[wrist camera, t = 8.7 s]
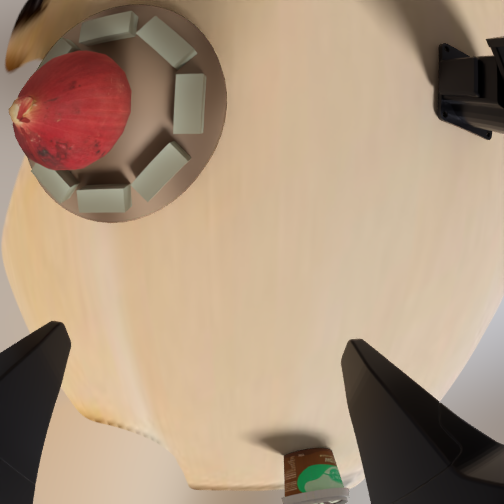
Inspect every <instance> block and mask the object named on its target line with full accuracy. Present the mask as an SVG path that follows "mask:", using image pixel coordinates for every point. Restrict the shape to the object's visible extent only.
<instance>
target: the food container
mask: <svg viewBox="0 0 504 504" xmlns="http://www.w3.org/2000/svg"><path fill="white" fill-rule="evenodd" d="M284 479H285V497H283V498H282V501H283V504H345V503H347V502H348V498H349V489H348V488H344V486H343V483H342V480H341V477H340V474H339V471H338V468H337V465H336V462H335V459H334V456H333V453H332V451H331V450H330V449H327V448H312V449H305V450H300V451H296V452H293V453H290V454H287V455H285V456H284Z"/></svg>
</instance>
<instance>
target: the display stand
mask: <svg viewBox="0 0 504 504" xmlns="http://www.w3.org/2000/svg"><path fill="white" fill-rule="evenodd" d="M85 50H87V51H92V52H97V53H101V54H106V55H107V56H108V57H110V58H111V59H113V60H114V61H115V62H116V63H117V64H118V65H119V66H120V68H121V69H122V70H123V71H124V72H125V74H126V77H127V79H128V82H129V85H130V88H131V91H132V93H131V113H130V115H129V118H128V121H127V123H126V126H125V129H124V131H123V134H122V135H121V136H120V138H119V139H118V140H117V142H116V143H115V145H114V146H113V147H112V149H111V150H110V152H108V153H107V154H106V155H105V156H104V157H102V158H100V159H98V160H97V161H95V162H93V163H92V164H90V165H88V166H86V167H85V168H82V169H76V170H51V169H48V168H46V167H44V166H42V165H40V164H38V163H36V162H34V161H32V160H31V159H29V158H28V160H29V163H30V166H31V168H32V170H31V172H32V173H33V174H34V175H35V176H36V178H37V180H38V182H39V183H40V185H41V186H42V187H43V189H44V190H45V191H46V193H47V194H48V195H49V196H50V197H51V198H52V199H53V200H54V201H55V202H56V203H58V204H59V205H60V206H62V207H63V208H64V209H66V210H68V211H69V212H71V213H73V214H75V215H77V216H80V217H82V218H85V219H88V220H93V221H97V222H107V223H117V222H127V221H132V220H136V219H139V218H142V217H145V216H148V215H150V214H152V213H154V212H156V211H158V210H161V209H162V208H164V207H165V206H167V205H168V204H170V203H171V202H173V201H174V200H175V199H176V198H178V197H179V196H180V195H181V194H182V193H183V192H185V191H186V190H187V188H188V187H189V186H190V185H191V184H192V183H193V182H194V181H195V180H196V178H197V177H198V176H199V174H200V173H201V171H202V170H203V169H204V167H205V166H206V164H207V163H208V162H209V160H210V158H211V156H212V154H213V153H214V151H215V149H216V147H217V144H218V142H219V139H220V137H221V134H222V130H223V126H224V123H225V116H226V109H227V92H226V85H225V78H224V75H223V72H222V69H221V65H220V63H219V60H218V58H217V55H216V53H215V51H214V49H213V47H212V45H211V44H210V43H209V41H208V40H207V38H206V37H205V36H204V34H203V33H202V32H201V31H200V30H199V29H198V28H197V27H196V26H195V25H194V24H192V23H191V22H190V21H188V20H187V19H185V18H184V17H183V16H181V15H179V14H177V13H174V12H172V11H170V10H167V9H164V8H160V7H157V6H149V5H126V6H120V7H115V8H111V9H108V10H104V11H102V12H99V13H97V14H95V15H92V16H90V17H89V18H87V19H85V20H83V21H82V22H80V23H78V24H77V25H76V26H74V27H73V28H72V29H70V30H69V31H68V32H67V33H66V34H64V35H63V36H62V37H61V38H60V39H59V40H58V41H57V42H56V43H55V45H54V46H53V47H52V48H51V49H50V51H49V52H48V53H47V55H46V56H45V58H44V59H43V61H42V62H41V64H40V65H39V67H38V69H40V68H41V67H42V66H43V65H44V64H46V63H47V62H48V61H50V60H51V59H52V58H55V57H58V56H61V55H64V54H67V53H71V52H75V51H85ZM38 69H37V70H38ZM37 70H36V71H37Z"/></svg>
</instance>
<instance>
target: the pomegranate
mask: <svg viewBox="0 0 504 504" xmlns="http://www.w3.org/2000/svg"><path fill="white" fill-rule="evenodd" d="M131 93H132V91H131V88H130V85H129V82H128V79H127V77H126V74H125V72H124V71H123V70H122V69H121V68H120V66H119V65H118V64H117V63H116V62H115V61H114V60H113V59H111V58H110V57H108V56H107V55H106V54H101V53H97V52H92V51H87V50H85V51H75V52H71V53H67V54H64V55H61V56H58V57H55V58H52V59H51V60H50V61H48V62H47V63H46V64H44V65H43V66H42V67H41V68H40V69H38V70H37V71H36V72H35V73H34V74H33V75H32V76H31V77H30V79H29V80H28V81H27V83H26V84H25V86H24V87H23V88H22V90H21V91H20V93H19V95H18V98H17V99H16V100H15V101H14V102H13V105H12V106H11V107H10V108H9V114H10V116H11V118H12V121H13V128H14V132H15V137H16V139H17V141H18V143H19V145H20V147H21V148H22V150H23V152H24V153H25V155H26V156H27V157H28V158H29V159H31V160H32V161H34V162H36V163H38V164H40V165H42V166H44V167H46V168H48V169H51V170H76V169H82V168H85V167H86V166H88V165H90V164H92V163H93V162H95V161H97V160H98V159H100V158H102V157H104V156H105V155H106V154H107V153H108V152H110V150H111V149H112V147H113V146H114V145H115V143H116V142H117V140H118V139H119V138H120V136H121V135H122V134H123V131H124V129H125V126H126V123H127V121H128V118H129V115H130V113H131Z"/></svg>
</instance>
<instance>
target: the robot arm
mask: <svg viewBox="0 0 504 504" xmlns="http://www.w3.org/2000/svg"><path fill="white" fill-rule="evenodd" d="M486 41H487V43H488V45H489V47H491V50H492V52H493V55H494V56H480V57H470V56H468V55H466V54H464V53H463V52H461V51H459V50H457V49H456V48H454V47H452V46H450V45H448V44H446V43H444V44H440V45H439V94H438V109H437V115H438V118H439V119H440V120H441V121H444V122H447V123H449V124H452V125H454V126H457V127H459V128H461V129H464V130H466V131H468V132H471V133H473V134H475V135H477V136H480V137H482V138H484V139H487V140H490V139H491V137H492V131H494V132H498V133H503V134H504V36H503V37H496V38H490V39H486ZM445 49H446V50H445ZM443 112H444V117H443ZM70 349H71V341H70V338H69V335H68V333H67V330H66V328H65V325H64V324H63V323H62V322H58V321H51V322H49V323H47V324H46V325H44V326H43V327H41V328H39V329H38V330H36V331H34V332H33V333H31V334H30V335H28V336H26V337H25V338H23V339H21V340H20V341H18V342H17V343H16V344H14V345H12V346H11V347H9V348H7V349H6V350H4V351H3V352H1V353H0V504H33V497H34V491H35V483H36V479H37V473H38V468H39V463H40V458H41V454H42V450H43V446H44V441H45V438H46V434H47V430H48V426H49V423H50V419H51V416H52V412H53V409H54V406H55V403H56V400H57V397H58V393H59V390H60V387H61V384H62V380H63V376H64V372H65V368H66V364H67V360H68V356H69V352H70ZM341 366H342V372H343V378H344V385H345V391H346V398H347V404H348V409H349V413H350V417H351V420H352V424H353V428H354V432H355V436H356V440H357V444H358V448H359V452H360V456H361V461H362V465H363V469H364V474H365V478H366V482H367V487H368V491H369V496H370V501H371V504H504V445H503V444H500V443H498V442H496V441H495V440H493V439H491V438H490V437H488V436H487V435H485V434H484V433H482V432H481V431H479V430H478V429H476V428H474V427H473V426H471V425H470V424H468V423H467V422H466V421H464V420H463V419H461V418H460V417H458V416H457V415H456V414H454V413H453V412H452V411H451V410H449V409H448V408H447V407H446V406H444V405H443V404H442V403H439V401H438V400H437V399H436V398H434V397H433V396H432V395H431V394H430V393H428V392H427V391H426V390H425V389H423V388H422V387H421V386H420V385H418V384H417V383H416V382H415V381H413V380H412V379H411V378H410V377H409V376H407V375H406V374H405V373H404V372H402V371H401V370H400V369H399V368H397V367H396V366H395V365H394V364H393V363H391V362H390V361H389V360H388V359H386V358H385V357H384V356H383V355H381V354H380V353H379V352H378V351H376V350H375V349H374V348H373V347H372V346H370V345H369V344H368V343H367V342H365V341H364V340H363V339H351V340H349V341H348V343H347V345H346V348H345V350H344V353H343V356H342V359H341Z"/></svg>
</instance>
